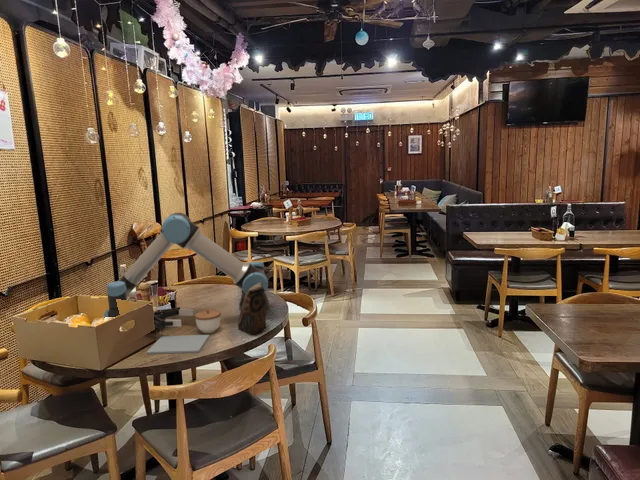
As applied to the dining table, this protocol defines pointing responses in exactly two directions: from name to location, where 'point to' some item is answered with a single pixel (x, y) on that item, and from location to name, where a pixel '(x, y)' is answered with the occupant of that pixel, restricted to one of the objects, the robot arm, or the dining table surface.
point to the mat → (179, 344)
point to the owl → (253, 311)
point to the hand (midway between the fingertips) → (187, 317)
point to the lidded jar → (208, 320)
